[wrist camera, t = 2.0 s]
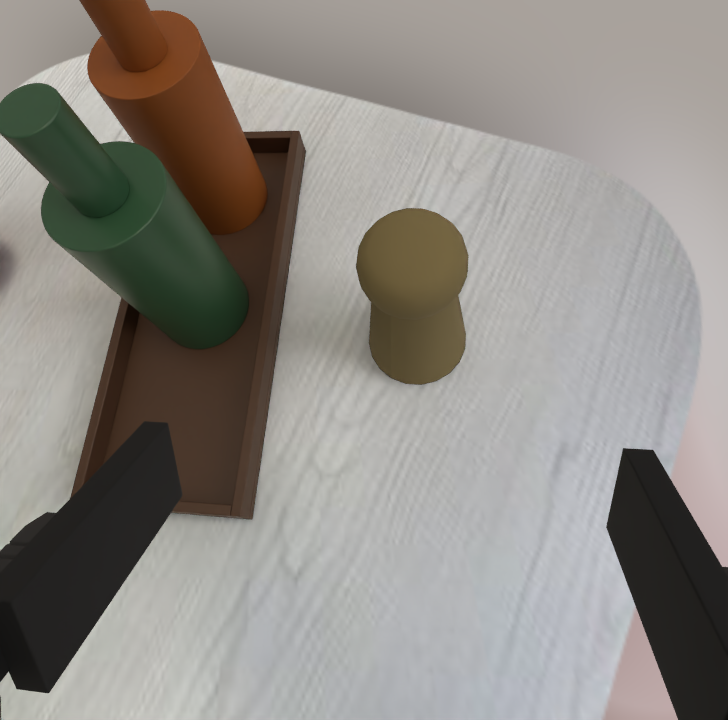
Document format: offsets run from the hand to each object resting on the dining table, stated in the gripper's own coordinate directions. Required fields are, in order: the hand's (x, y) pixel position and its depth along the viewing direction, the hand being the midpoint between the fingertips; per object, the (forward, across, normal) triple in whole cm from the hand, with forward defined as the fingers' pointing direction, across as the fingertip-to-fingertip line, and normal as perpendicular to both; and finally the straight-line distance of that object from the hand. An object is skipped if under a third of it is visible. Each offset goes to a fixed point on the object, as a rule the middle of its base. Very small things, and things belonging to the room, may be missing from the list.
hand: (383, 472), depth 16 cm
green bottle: (+19, -14, -2) cm, 24 cm away
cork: (+19, 0, -4) cm, 19 cm away
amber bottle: (+25, -14, +4) cm, 29 cm away
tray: (+20, -14, -2) cm, 24 cm away
